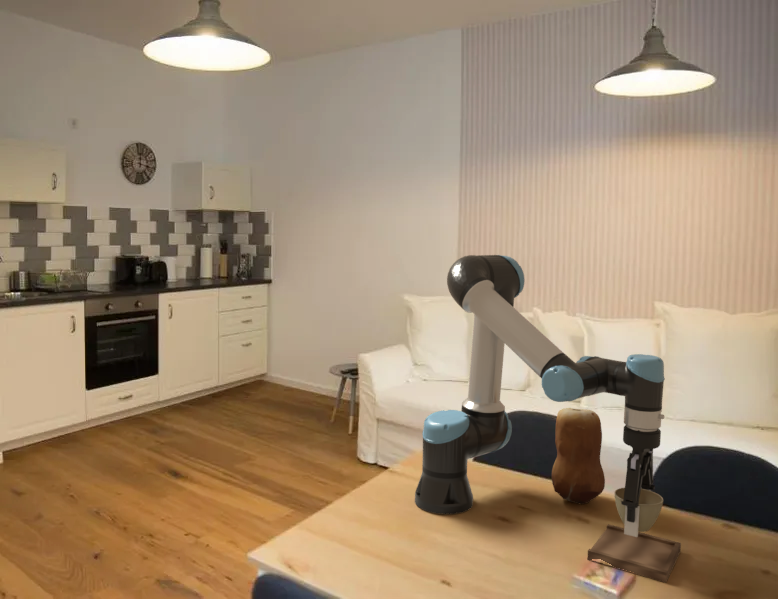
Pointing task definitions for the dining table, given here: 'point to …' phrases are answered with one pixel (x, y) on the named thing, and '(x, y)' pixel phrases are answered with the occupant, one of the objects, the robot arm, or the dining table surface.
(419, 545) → the dining table surface
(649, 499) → the flower pot
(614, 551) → the walnut board
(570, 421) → the butternut squash
